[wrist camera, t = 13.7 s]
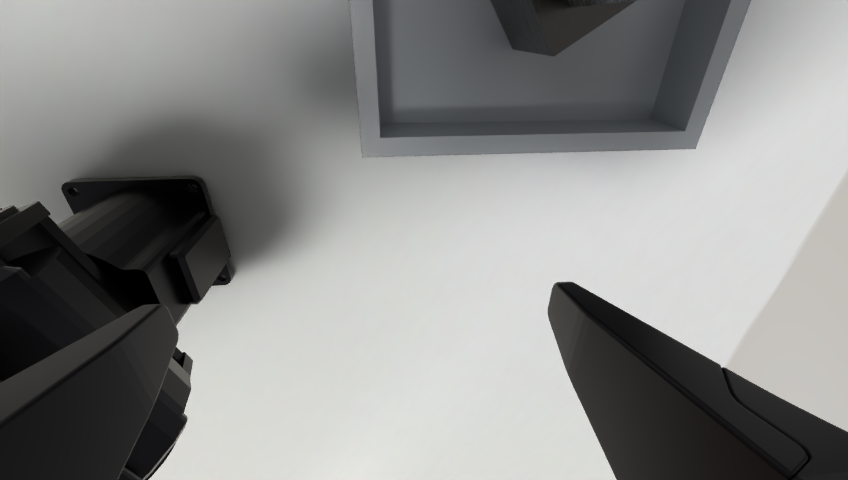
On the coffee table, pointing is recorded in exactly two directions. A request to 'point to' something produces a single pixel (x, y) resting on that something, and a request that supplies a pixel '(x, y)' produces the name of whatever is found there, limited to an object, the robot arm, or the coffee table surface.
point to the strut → (552, 21)
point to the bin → (536, 79)
